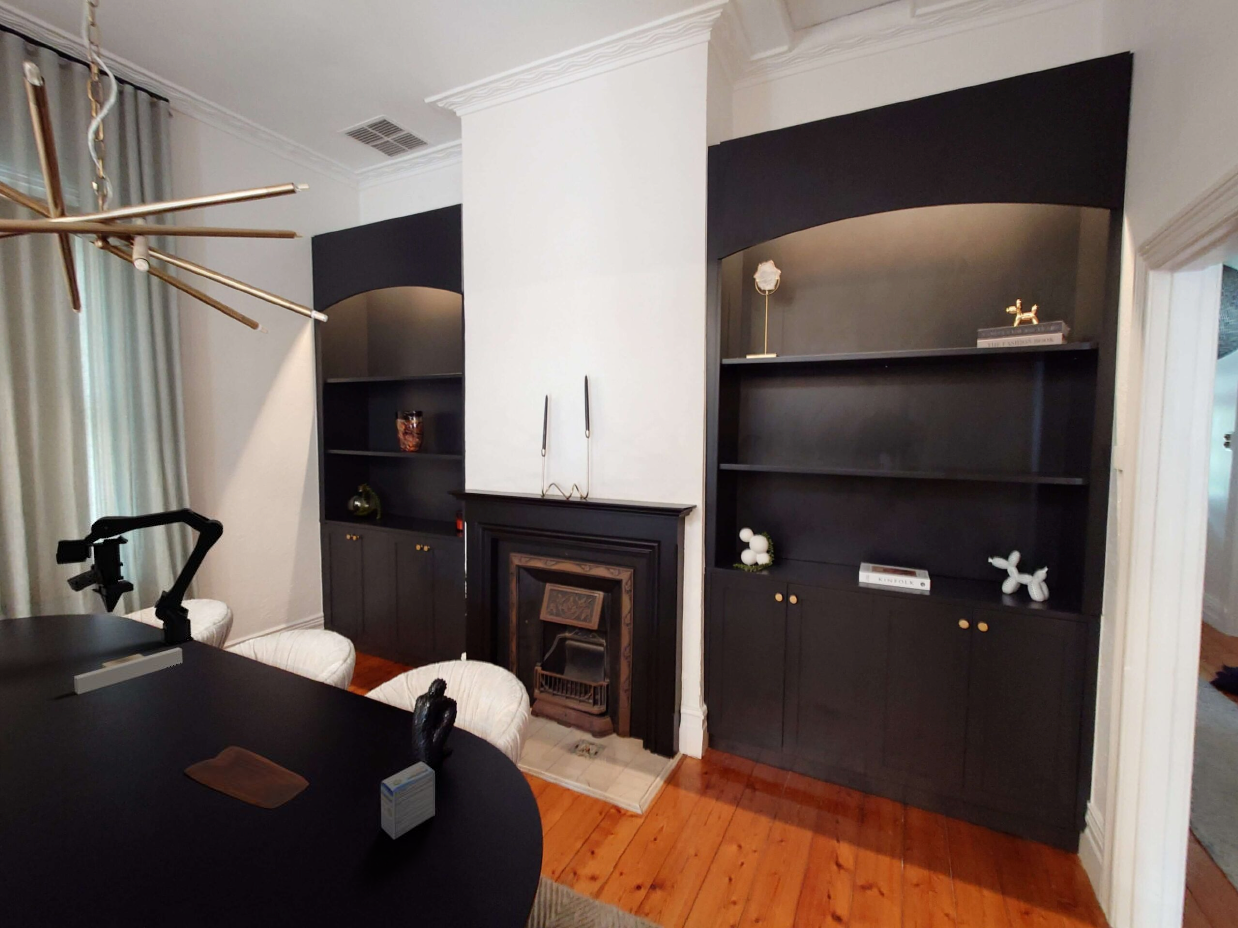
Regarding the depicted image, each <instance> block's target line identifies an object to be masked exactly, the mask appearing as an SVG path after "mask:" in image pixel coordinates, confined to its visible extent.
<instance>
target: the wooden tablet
mask: <svg viewBox="0 0 1238 928" xmlns="http://www.w3.org/2000/svg"><path fill="white" fill-rule="evenodd" d="M184 774H186V776H189V778H191V779H192V780H195V781H197V782H198V783H201V784H202V785H205V786H207V787H208V788H209V787H210V788H212V789H214V790H216V791H219V792H221V793H223V794H226V795H228V796H230V797H233V798H236V799H239V800H241V801H243V802H247V803H249V804H250V805H255V806H257V807H260V808H261V807H262V808H264V809H265V808H266V809H276V808H278V807H279V806H281V805H283V804H285V803H286V802H289V801H290V800H292V799H294V798H295V797H296V795H298V794H300V793H301V792H302V791H304V790H305V789H306V788H307V787H308V786H309V784H310V783H309V782H308V781H307V780H306V779H305V778H304V777H303V776H301V775H300V774H297V773H295V772H293V771H291V770H288V769H287V768H285V767H282V765H279V764H277V763H275V762H273V761H271V760H269V759H267V758H265V757H263V756H261V755H259V754H256V753H254V752H252V751H249V750H247V749H245V748H242V747H240V746H234V745H233V746H228V747H227V748H225V749H224V750H222V751H220V752H219V753H218V754H217V756H215V758H211V759H206V760H202V761H199V762H197V763H195V764H192V765H191V766H189V767H187V768H186V769H185V770H184Z"/></svg>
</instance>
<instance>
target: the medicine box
mask: <svg viewBox="0 0 1238 928" xmlns="http://www.w3.org/2000/svg"><path fill="white" fill-rule="evenodd" d="M435 777H436V773H435V770H434V769H432V768H431V767H430V766H429V765H427V764H426V763H424V762H423V761H419V762H416V763H415V764H413V765H411V766H409V767H407V768H404V769H403V770H401V771H399V772H397V773H395V774H394V775H391V776H389V777H387V778H386V779H383V780H382V781H380V804H381V805H380V806H381V807H380V810H381V812H380V813H381V814H380V815H381V817H380V819H381V828H382V829H383V831H385V833H387V835H388V836H389V837H390V838H391V839H392V840H396V839H398V838H399V837H401V836H402V835H405V833H407V832H409V831H410V830H412V829H414V828H415V827H417V826H419V825H420V824H422V823H424V822H425V821H427V820H429V819H430V818H432V817H434V816H436V813H435V812H436V807H435V806H436V805H435V803H436V802H435V801H436V800H435V799H436V796H435V795H436V787H435V786H436V778H435Z"/></svg>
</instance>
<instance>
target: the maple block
mask: <svg viewBox="0 0 1238 928" xmlns="http://www.w3.org/2000/svg"><path fill="white" fill-rule="evenodd" d="M142 657H145V656H144V655H142V654H141V653H136V654H133V655H129V656H126V657H122V658H118V659H115V660H112V661H108V662H104V663H101V669H103V668H106V667H110V666H114V665H117V664H121V663H124V662H128V661H132V660H135V659H139V658H142Z"/></svg>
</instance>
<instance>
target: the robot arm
mask: <svg viewBox="0 0 1238 928" xmlns="http://www.w3.org/2000/svg"><path fill="white" fill-rule="evenodd" d="M179 523H183V524H186V526H189V527H190V528H192V529H193V530H194V531H197V532H198V533H199V534H198V537H197V540H196V544H195V545H194V548H193V549H192V551H191V553H190V554H189V556H188V558H187V560H186V562H185V564H184V566H183V568H182V569H181V571H180V573H179V575H178V576H177V578H176V579H175V582H174V584H172V586H171V588H170V589H168V590H167V591H166V590H162V591H161V593H160V596H159V598H158V599H157V600H156V601H155V604H154V607H153V609H155V611H154V616H155V617H156V618H157V619H158V620H159V621H160V622H161V621H162V628H161V629H160V643H162V644H163V645H167V646H168V647H170V646H174V645H178V644H182V643H186V642H189V640H190V641H193V640H194V638H195V637H193V636H192V624H191V623H192V622H191V621H192V620H191V618H188V617H189V612H190V609H188V608H187V607H185V606H183V605H182V603H183V600H184V598H185V594H186V591H187V590H188V588H189V586H190V585H191V582H192V581H193V579H194V577H195V575H196V573H197V572H198V570H199V568H200V566H201V564H202V563H203V561H204V559H205V557H206V556H207V554H208V552H209V551H210V550H211V549H212V548H213V547H214V546H215V544H216V543H217V542H218V541H219V540H220V538H221V537H222V536H223V534H224V525H223V522H221V521H220V520H218V519H210V518H208V517H206V516H205V515H202V514H200V513H198V512H196V511H194V510H193V509H191V508H190V507H182V508H180V509H173V510H168V511H167V510H166V511H161V512H154V513H147V514H141V515H133V516H131V515H130V516H129V515H109V516H107V515H106V516H102V517H99V518H98V519H97V520H96V521H94V523H92V524H91V527H90V533H89V534H86V536H85V537H84V538H82V539H61V540H58V541H57V549H56V554H55V559H56V560H55V561H56V564H57V565H59V566H60V565H68V564H70V565H71V564H79V563H80V564H82V563H86V562H87V560H88V559H91V558H92V554H93V563H92V564H91V565H90V569H89V570H87V571H84V572H82V573H79V574H77V575H74V576H72V577H70V578H69V579H67V580H66V583H67V584H68V585H69V586H70V589H71V590H73V591H74V592H76V593H77V592H81V591H83V590H84V589H86V588H88V587H90V586H93V585H94V588H93V589H91V591H93V593H96V594H98V595H99V596H100V598H101V601H102V603H103V606H104V608H105V611H106V613H112V612H114V610H115V609H116V606H117V604H118V603H119V601H120V599H121V597H122V595H123V594H125V593H130V592H133V591H134V583H133V582H131V581H129V580H126V579H125V577H124V575H122V568H121V567H124V562H122V560H121V545H126V544H127V543H128V542H129V539H127V538H126V537H124V536H123V535H122V534H126V533H129V532H131V531H134V530H140V529H146V528H154V527H159V526H166V525H172V524H179ZM116 536H117V537H116ZM113 537H116V538H113ZM100 540H102V542H101V541H100ZM97 541H99V542H97ZM92 549H93V553H92ZM187 639H189V640H187ZM185 641H186V642H185Z"/></svg>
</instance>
